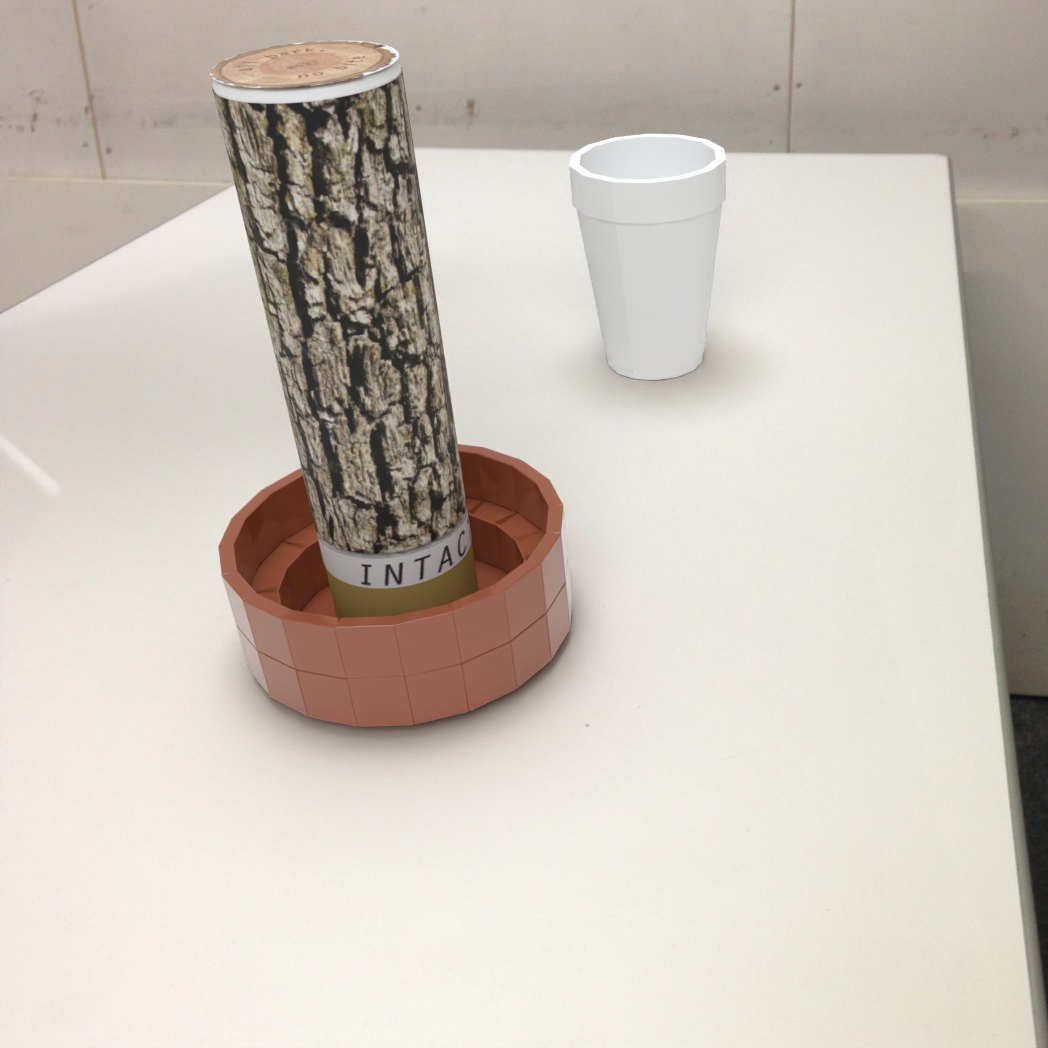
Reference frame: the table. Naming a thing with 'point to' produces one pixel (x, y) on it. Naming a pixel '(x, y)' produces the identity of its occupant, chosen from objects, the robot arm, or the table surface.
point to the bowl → (412, 638)
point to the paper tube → (352, 315)
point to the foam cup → (650, 246)
